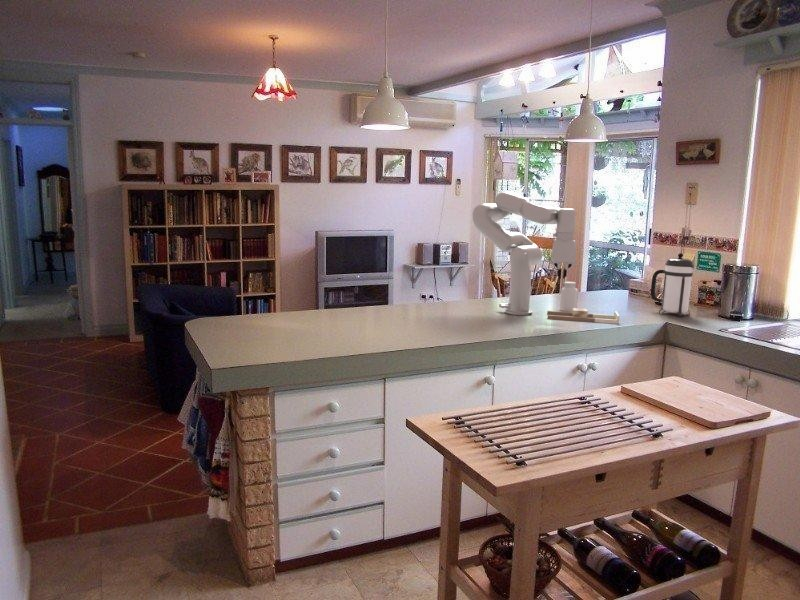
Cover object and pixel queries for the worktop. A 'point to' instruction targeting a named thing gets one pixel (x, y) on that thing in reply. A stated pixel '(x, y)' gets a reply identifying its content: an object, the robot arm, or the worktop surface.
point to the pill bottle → (569, 297)
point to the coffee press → (675, 285)
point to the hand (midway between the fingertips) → (561, 278)
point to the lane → (590, 317)
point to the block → (579, 312)
